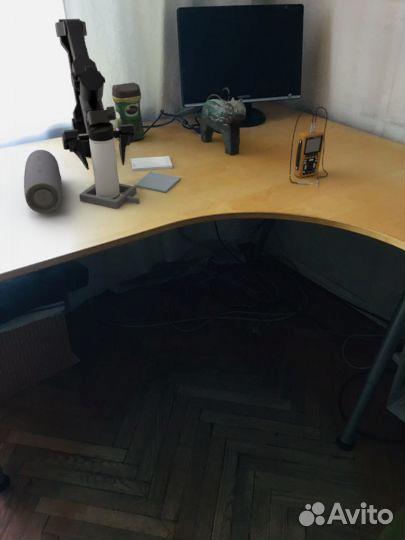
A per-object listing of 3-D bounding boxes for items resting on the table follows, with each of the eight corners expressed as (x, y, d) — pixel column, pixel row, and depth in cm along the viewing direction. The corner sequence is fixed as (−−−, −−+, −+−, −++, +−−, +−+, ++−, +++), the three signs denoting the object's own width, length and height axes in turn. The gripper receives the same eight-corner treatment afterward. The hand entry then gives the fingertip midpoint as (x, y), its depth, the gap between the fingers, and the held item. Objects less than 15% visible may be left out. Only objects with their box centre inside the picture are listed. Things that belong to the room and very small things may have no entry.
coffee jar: (137, 133, 168) (134, 79, 157) (147, 139, 162) (144, 84, 151) (113, 137, 164) (107, 82, 153) (121, 144, 158) (116, 88, 147)
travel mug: (124, 194, 127) (118, 121, 115) (113, 204, 121) (105, 129, 110) (104, 190, 128) (96, 118, 117) (92, 200, 123) (82, 126, 112)
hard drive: (132, 168, 139) (172, 165, 141) (129, 157, 145) (168, 155, 147) (132, 173, 140) (172, 170, 142) (130, 162, 146) (168, 160, 148)
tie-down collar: (80, 201, 123) (79, 194, 121) (101, 186, 131) (100, 179, 129) (129, 212, 118) (128, 205, 117) (148, 195, 126) (147, 188, 125)
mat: (134, 186, 131) (134, 184, 130) (150, 173, 138) (150, 171, 138) (165, 192, 127) (165, 191, 127) (180, 179, 135) (180, 177, 135)
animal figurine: (244, 154, 152) (249, 92, 140) (229, 158, 149) (232, 95, 137) (209, 137, 165) (211, 78, 154) (195, 140, 162) (195, 81, 150)
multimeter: (303, 190, 130) (315, 120, 119) (283, 177, 137) (291, 109, 126) (343, 181, 136) (357, 113, 124) (321, 169, 143) (333, 103, 131)
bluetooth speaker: (66, 215, 116) (60, 179, 110) (28, 220, 114) (19, 183, 108) (62, 179, 134) (56, 146, 128) (28, 182, 132) (21, 149, 126)
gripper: (55, 98, 111) (68, 158, 109) (131, 92, 116) (145, 149, 114) (57, 121, 121) (69, 176, 119) (127, 114, 127) (139, 167, 125)
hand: (105, 166), depth 119 cm, fingers open, 9 cm apart
